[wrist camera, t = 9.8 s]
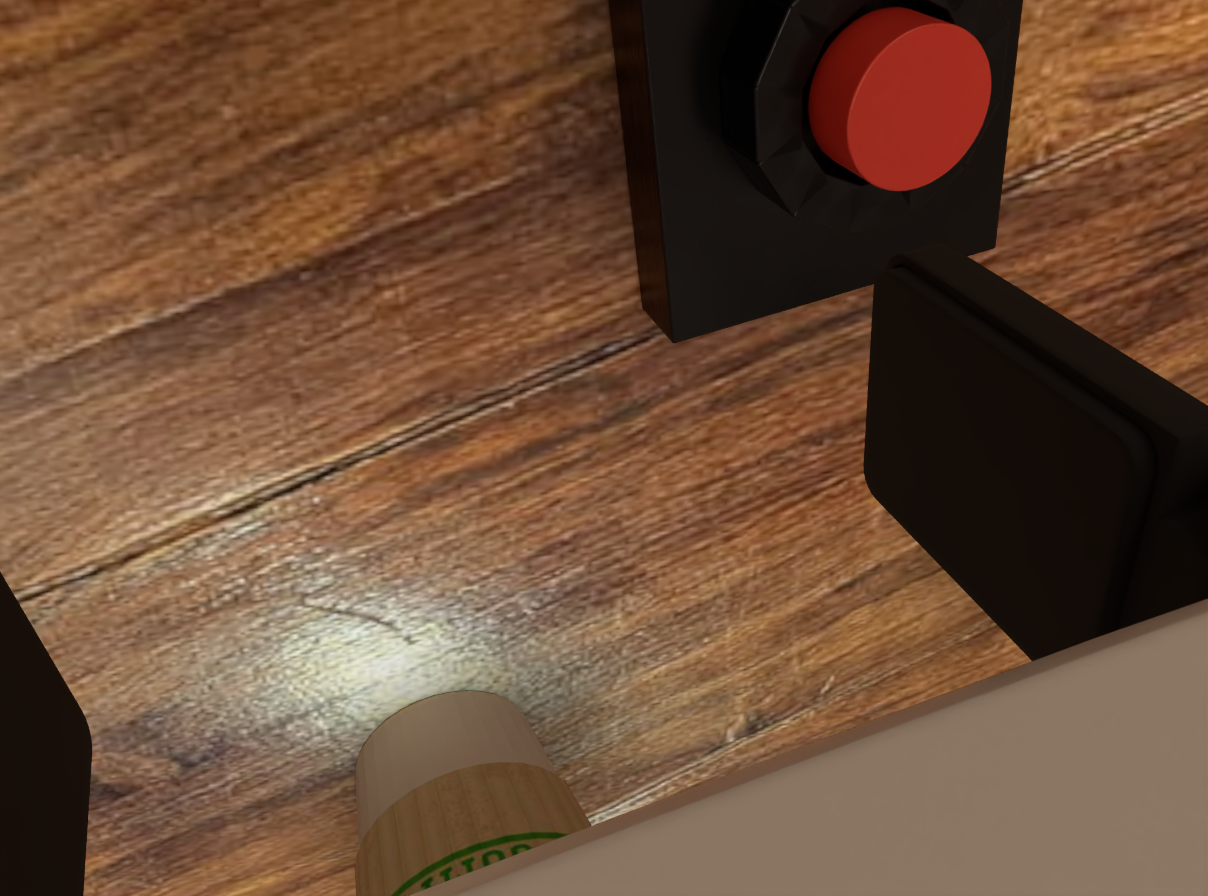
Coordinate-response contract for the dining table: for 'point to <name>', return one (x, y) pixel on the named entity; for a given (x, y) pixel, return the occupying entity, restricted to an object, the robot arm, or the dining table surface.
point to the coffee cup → (454, 793)
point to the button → (899, 97)
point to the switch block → (778, 158)
